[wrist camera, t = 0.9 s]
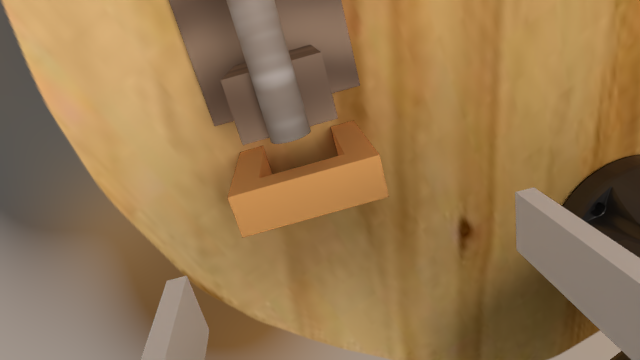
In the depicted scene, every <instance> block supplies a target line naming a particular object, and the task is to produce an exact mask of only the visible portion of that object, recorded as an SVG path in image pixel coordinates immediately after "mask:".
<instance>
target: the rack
mask: <svg viewBox="0 0 640 360" xmlns="http://www.w3.org/2000/svg"><path fill="white" fill-rule="evenodd" d="M169 2H170V5H171V7H172V10H173V13H174V16H175V18H176V21H177V24H178V27H179V29H180V32H181V35H182V38H183V40H184V43H185V46H186V49H187V51H188V54H189V57H190V60H191V62H192V65H193V68H194V71H195V73H196V76H197V79H198V82H199V85H200V87H201V90H202V93H203V96H204V98H205V101H206V104H207V107H208V109H209V112H210V115H211V118H212V120H213V123H214V126H217V125H221V124H224V123H228V122H231V121H235V124H236V127H237V130H238V133H239V136H240V139H241V141H242V144H243V145H245V144H248V143H252V142H256V141H259V140H263V139H266V138H270V140H271V142H272V143H274V144H280V143H287V142H291V141H294V140H297V139H300V138H302V137H304V136H306V135H307V134H309V133H310V131H311V130H310V127H309V126H313V125H316V124H320V123H323V122H327V121H330V120H334V119H338V117H337V113H336V109H335V105H334V101H333V97H332V93H335V92H338V91H342V90H345V89H349V88H352V87H356V86H359V85H360V83H359V78H358V74H357V69H356V65H355V60H354V56H353V51H352V47H351V42H350V38H349V33H348V29H347V25H346V20H345V16H344V11H343V7H342V2H341V0H169Z"/></svg>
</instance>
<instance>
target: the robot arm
mask: <svg viewBox="0 0 640 360" xmlns="http://www.w3.org/2000/svg"><path fill="white" fill-rule="evenodd" d="M515 202H516V244H517V251H518V252H519V253H520V254H521V255H522V256H523V257H524V258H525V259H526V260H527V261H529V262H530V263H531V264H532V265H533V266H534V267H535V268H536V269H537V270H538V271H539V272H540V273H541V274H542V275H543V276H544V277H545V278H546V279H547V280H548V281H549V282H550V283H552V284H553V285H554V286H555V287H556V288H557V289H558V290H559V291H560V292H561V293H562V294H563V295H564V296H565V297H566V298H567V299H568V300H569V301H570V302H571V303H572V304H574V305H575V306H576V307H577V308H578V309H579V310H580V311H581V312H582V313H583V314H584V315H585V316H586V317H587V318H588V319H589V320H590V321H591V322H592V323H593V324H594V325H595V326H597V327H598V328H599V329H600V330H601V331H602V332H603V333H604V334H605V335H606V336H607V337H608V338H609V339H610V340H611V341H612V342H613V343H614V344H615V345H617V346H618V347H619V348H620V349H621V350H622V351H621V352H620V353H618V354H617V355H616V356H614V357H613V358H612V359H610V360H640V155H636V156H631V157H627V158H623V159H620V160H618V161H615V162H613V163H611V164H609V165H607V166H605V167H603V168H601V169H600V170H598V171H597V172H595V173H594V174H592V175H591V176H590V177H588V178H587V179H586V180H585V181H584V182H583V183H582V184H581V185H580V186H579V187H578V188H577V189H576V190H575V191H574V192H573V193H572V195H571V196H570V197H569V199H568V200H567V202H566V203H565V205H564V206H563V207H562V206H561V205H559V204H558V203H556V202H555V201H553V200H552V199H550V198H549V197H547V196H546V195H544V194H543V193H541V192H540V191H538V190H537V189H536V188H534V187H533V188H529V189H525V190H521V191H518V192H515ZM208 335H209V328H208V326H207V323H206V321H205V319H204V316H203V314H202V311H201V309H200V307H199V304H198V302H197V299H196V297H195V295H194V292H193V290H192V287H191V285H190V282H189V280H188V277H187V276H184V277H180V278H176V279H172V280H168V281H167V282H166V285H165V288H164V291H163V294H162V297H161V300H160V303H159V306H158V309H157V312H156V315H155V318H154V321H153V324H152V327H151V330H150V333H149V336H148V339H147V342H146V345H145V348H144V352H143V355H142V357H141V360H205V355H206V348H207V341H208Z"/></svg>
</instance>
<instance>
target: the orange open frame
mask: <svg viewBox="0 0 640 360" xmlns="http://www.w3.org/2000/svg"><path fill="white" fill-rule="evenodd" d="M331 130H332V134H333V138H334V141H335V145H336V149H337V153H338V156H336V157H333V158H329V159H325V160H322V161H318V162H315V163H311V164H308V165H304V166H300V167H297V168H293V169H290V170H286V171H283V172H279V173H276V174H272V172H271V169H270V166H269V163H268V160H267V157H266V154H265V150H264V147H263V146H260V147H257V148H253V149H250V150H246V151H243V152H240V155H239V159H238V162H237V166H236V169H235V173H234V176H233V180H232V183H231V187H230V190H229V194H228V200H229V203H230V205H231V208H232V211H233V213H234V216H235V219H236V221H237V224H238V227H239V229H240V232H241V235H242V237H247V236H250V235H254V234H257V233H261V232H265V231H268V230H272V229H275V228H279V227H282V226H286V225H290V224H293V223H297V222H300V221H304V220H308V219H311V218H315V217H318V216H322V215H325V214H329V213H333V212H336V211H340V210H343V209H347V208H350V207H354V206H358V205H361V204H365V203H368V202H372V201H375V200H379V199H383V198H386V197H389V195H388V191H387V186H386V182H385V177H384V173H383V168H382V163H381V159H380V155H379V153H378V152H377V151H376V149H375V148H374V147H373V146H372V144H371V143H370V142H369V140H368V139H367V138H366V136H365V135H364V134H363V132H362V131H361V130H360V129H359V127H358V126H357V125H356V123H355V122H354V121H350V122H346V123H342V124H339V125H335V126H332V127H331Z"/></svg>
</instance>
